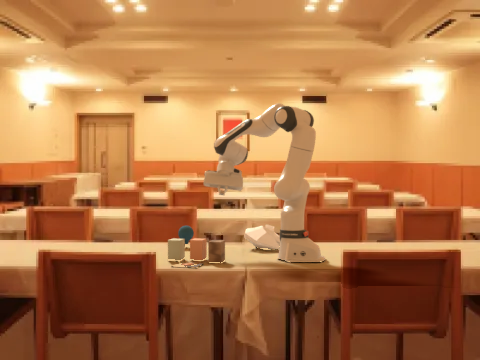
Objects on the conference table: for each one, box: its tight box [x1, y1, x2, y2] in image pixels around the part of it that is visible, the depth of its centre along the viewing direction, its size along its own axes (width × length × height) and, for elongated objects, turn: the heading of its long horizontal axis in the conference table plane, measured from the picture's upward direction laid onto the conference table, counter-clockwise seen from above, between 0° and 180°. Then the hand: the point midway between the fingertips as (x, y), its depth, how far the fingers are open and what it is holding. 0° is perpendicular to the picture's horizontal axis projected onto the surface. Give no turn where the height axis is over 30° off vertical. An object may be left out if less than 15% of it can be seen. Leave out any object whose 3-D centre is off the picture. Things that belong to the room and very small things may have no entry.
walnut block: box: [207, 239, 226, 263], centre depth 250 cm, size 6×6×10 cm
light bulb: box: [177, 225, 195, 245], centre depth 294 cm, size 8×8×12 cm
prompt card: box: [181, 262, 205, 267], centre depth 242 cm, size 12×9×1 cm
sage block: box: [167, 237, 186, 260], centre depth 256 cm, size 6×6×10 cm
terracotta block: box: [189, 237, 208, 260], centre depth 256 cm, size 6×6×10 cm
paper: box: [243, 223, 280, 249], centre depth 290 cm, size 25×24×12 cm
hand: (221, 194), depth 275 cm, fingers closed
